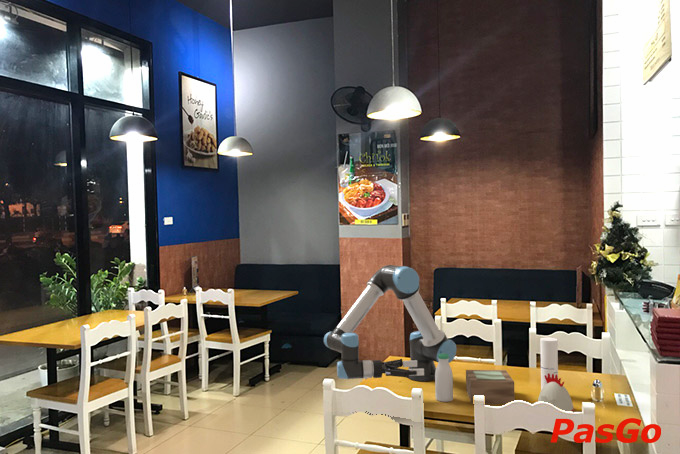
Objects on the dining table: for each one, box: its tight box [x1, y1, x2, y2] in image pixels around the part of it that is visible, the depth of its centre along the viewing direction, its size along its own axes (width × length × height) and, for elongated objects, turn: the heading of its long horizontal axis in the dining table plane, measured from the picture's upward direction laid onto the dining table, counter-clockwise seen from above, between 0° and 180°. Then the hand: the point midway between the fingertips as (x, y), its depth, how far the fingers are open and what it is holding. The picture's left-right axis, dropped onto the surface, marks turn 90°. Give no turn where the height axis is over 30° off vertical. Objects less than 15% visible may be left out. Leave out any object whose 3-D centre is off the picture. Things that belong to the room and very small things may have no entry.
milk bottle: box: [434, 353, 454, 403], centre depth 241 cm, size 8×8×20 cm
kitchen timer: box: [537, 373, 574, 411], centre depth 225 cm, size 14×14×15 cm
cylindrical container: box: [539, 336, 559, 391], centre depth 243 cm, size 7×7×25 cm
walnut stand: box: [465, 369, 516, 405], centre depth 242 cm, size 18×18×10 cm
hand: (420, 367), depth 240 cm, fingers open, 13 cm apart
